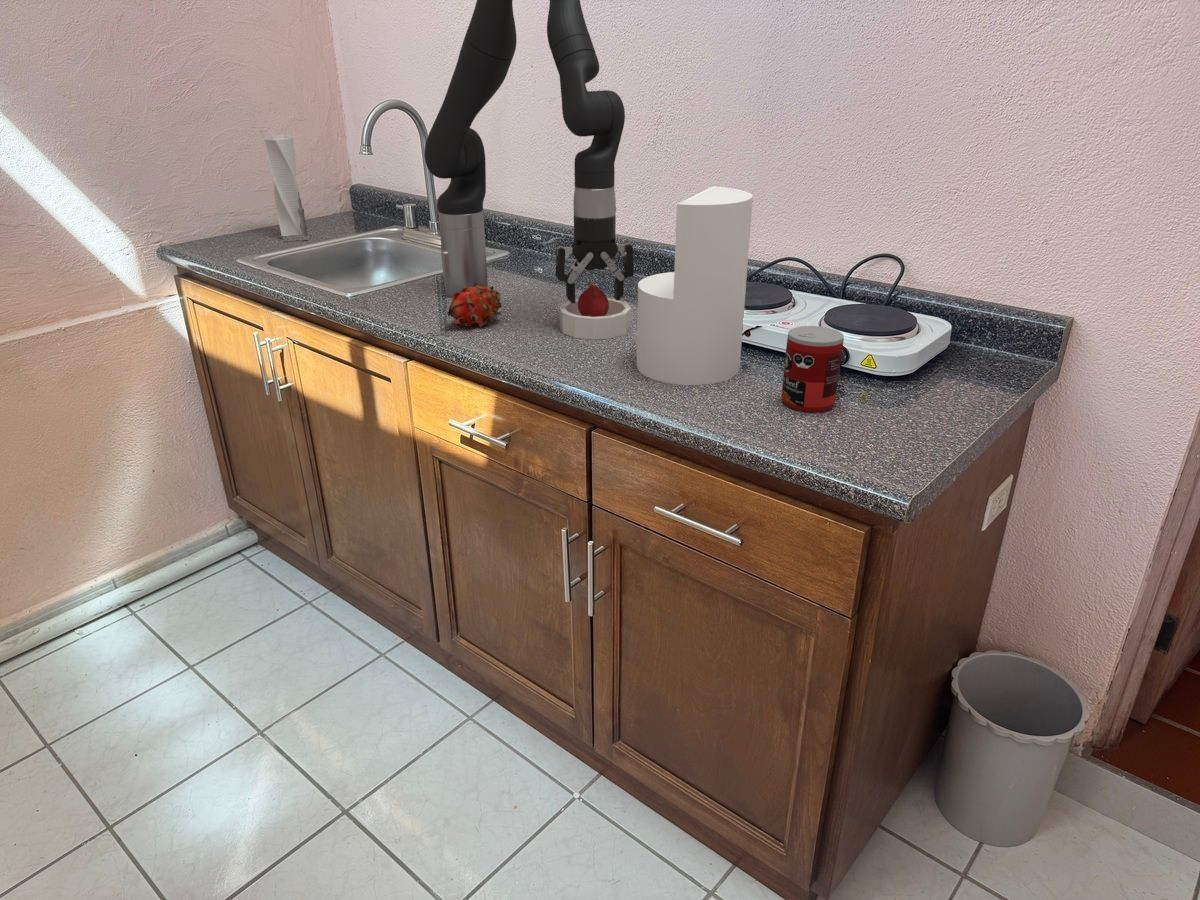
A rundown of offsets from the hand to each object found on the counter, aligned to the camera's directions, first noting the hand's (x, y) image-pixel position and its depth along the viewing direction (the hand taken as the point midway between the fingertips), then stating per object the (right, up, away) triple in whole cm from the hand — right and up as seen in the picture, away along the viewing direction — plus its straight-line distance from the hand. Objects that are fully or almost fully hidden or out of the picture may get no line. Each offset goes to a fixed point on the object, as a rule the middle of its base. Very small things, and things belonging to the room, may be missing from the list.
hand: (594, 300), depth 157 cm
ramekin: (0, -5, +2) cm, 5 cm away
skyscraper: (-82, +30, +73) cm, 114 cm away
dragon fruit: (-23, -4, +4) cm, 24 cm away
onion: (0, -4, +2) cm, 5 cm away
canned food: (+33, -21, -30) cm, 49 cm away
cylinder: (+16, -14, -16) cm, 26 cm away
